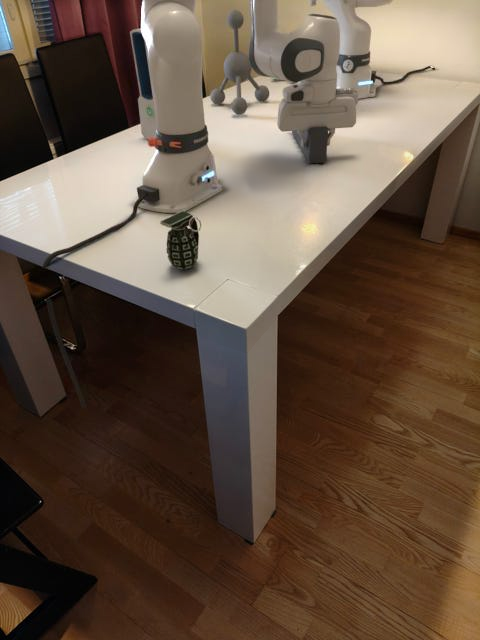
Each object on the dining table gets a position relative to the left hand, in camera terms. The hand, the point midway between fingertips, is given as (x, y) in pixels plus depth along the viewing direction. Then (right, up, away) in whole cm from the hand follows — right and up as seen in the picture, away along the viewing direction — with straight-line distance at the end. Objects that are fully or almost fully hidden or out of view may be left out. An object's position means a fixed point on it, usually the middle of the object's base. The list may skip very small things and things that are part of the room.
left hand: (315, 145), depth 130 cm
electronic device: (-44, +10, +23) cm, 51 cm away
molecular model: (-18, +32, +48) cm, 60 cm away
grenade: (-30, -36, -38) cm, 61 cm away
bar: (-1, +3, +10) cm, 10 cm away
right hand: (+6, +45, +11) cm, 47 cm away
